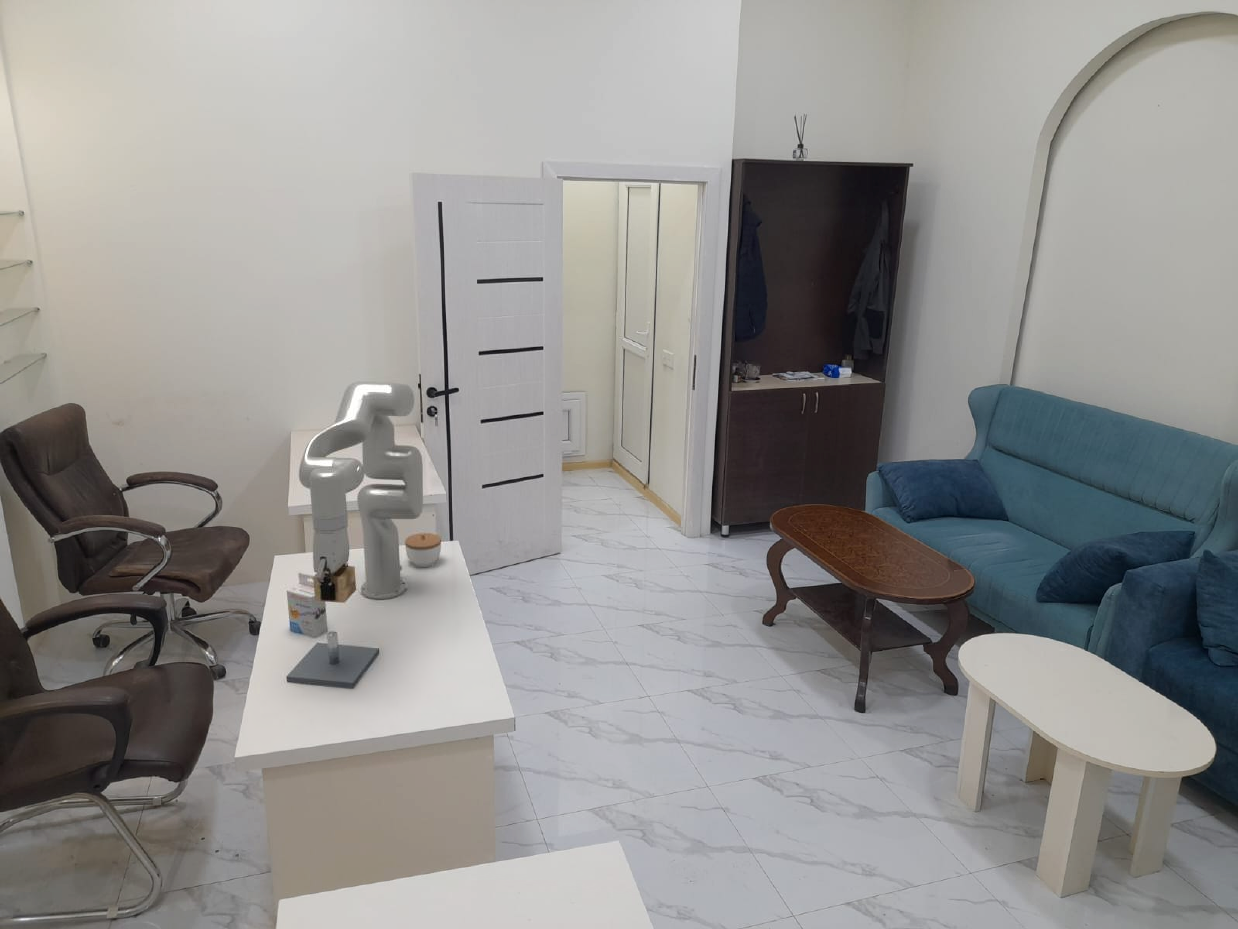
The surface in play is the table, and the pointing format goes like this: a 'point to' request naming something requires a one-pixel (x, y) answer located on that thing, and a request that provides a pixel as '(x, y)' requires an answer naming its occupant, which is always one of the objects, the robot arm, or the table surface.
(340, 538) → the robot arm
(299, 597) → the ink box
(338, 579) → the oak frame
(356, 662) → the slate board
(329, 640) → the metal post
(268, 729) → the table surface
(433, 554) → the lidded jar
